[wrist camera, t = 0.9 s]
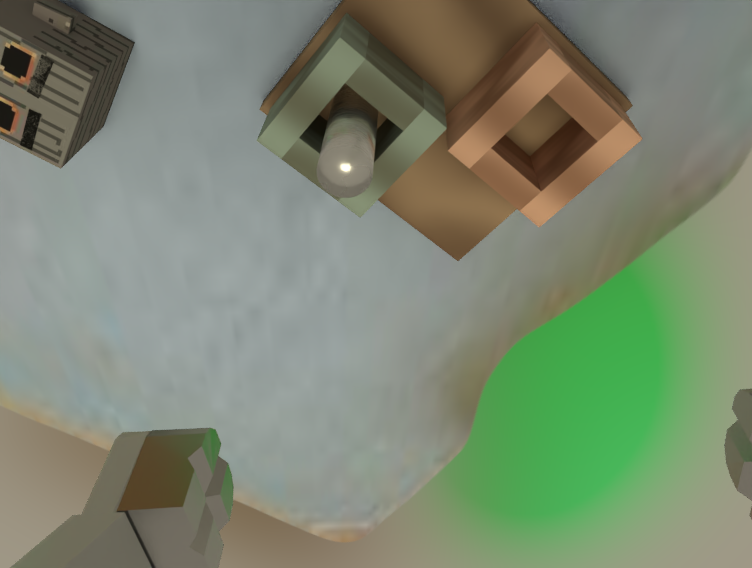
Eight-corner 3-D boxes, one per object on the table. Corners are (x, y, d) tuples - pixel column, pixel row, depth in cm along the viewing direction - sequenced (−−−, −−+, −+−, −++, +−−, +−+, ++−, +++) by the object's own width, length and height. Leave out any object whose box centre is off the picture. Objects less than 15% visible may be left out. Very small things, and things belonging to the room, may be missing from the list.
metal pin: (352, 70, 44) (340, 135, 36) (388, 100, 45) (384, 170, 37) (323, 105, 46) (305, 175, 37) (359, 133, 47) (348, 207, 39)
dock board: (424, -105, 40) (426, -88, 34) (626, 97, 46) (655, 138, 41) (263, 100, 47) (245, 141, 42) (456, 250, 53) (462, 301, 48)
